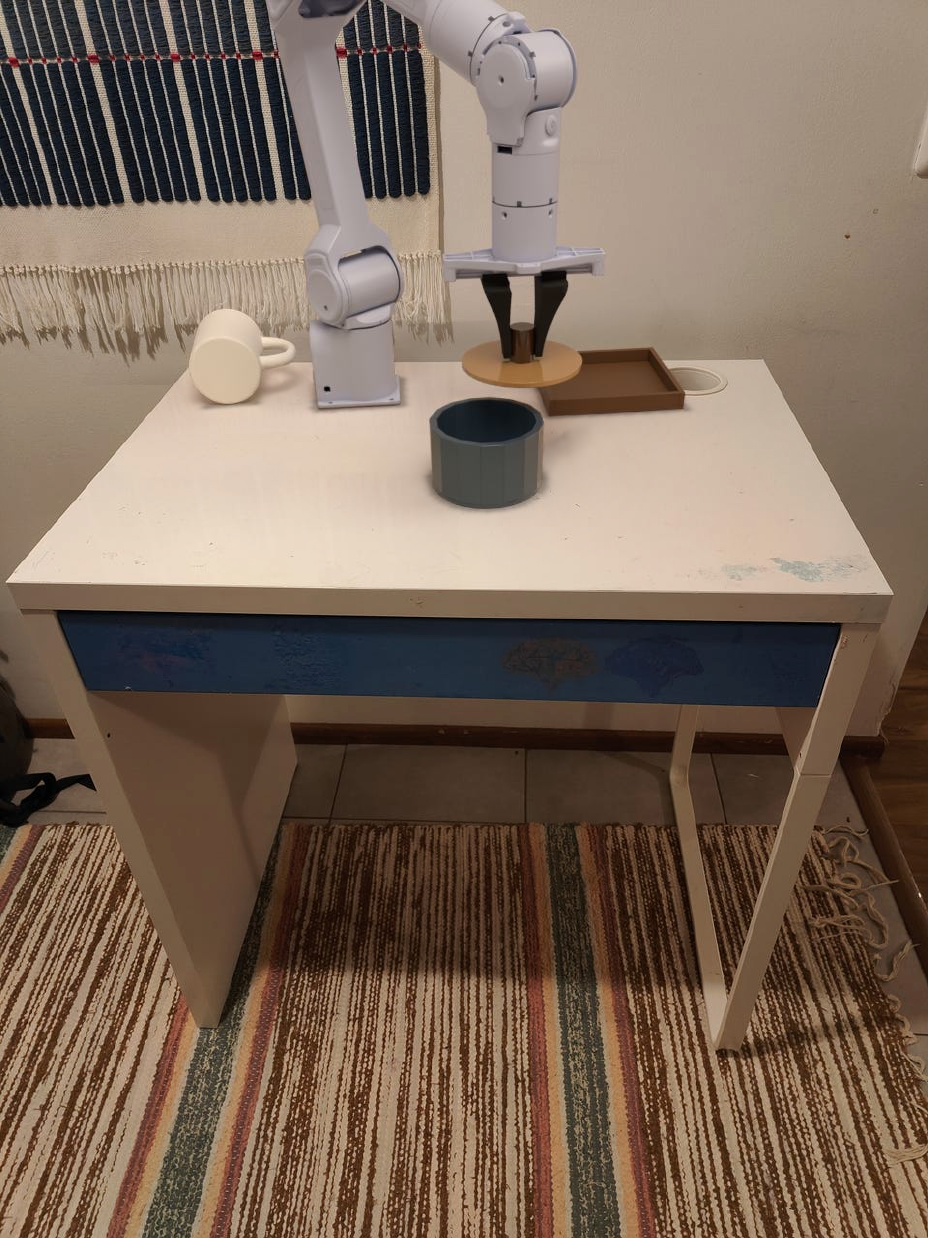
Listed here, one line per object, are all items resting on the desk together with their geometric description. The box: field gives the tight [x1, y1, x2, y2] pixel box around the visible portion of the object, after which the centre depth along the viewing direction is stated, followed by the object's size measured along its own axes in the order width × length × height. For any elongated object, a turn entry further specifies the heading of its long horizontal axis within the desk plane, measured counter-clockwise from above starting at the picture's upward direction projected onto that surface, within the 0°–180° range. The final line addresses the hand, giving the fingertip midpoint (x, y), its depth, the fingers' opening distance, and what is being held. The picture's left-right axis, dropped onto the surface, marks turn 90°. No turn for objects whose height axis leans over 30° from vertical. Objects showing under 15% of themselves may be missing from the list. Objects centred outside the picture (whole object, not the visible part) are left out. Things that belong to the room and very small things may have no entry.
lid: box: [461, 321, 582, 389], centre depth 82 cm, size 12×12×4 cm
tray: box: [537, 346, 686, 417], centre depth 101 cm, size 15×14×2 cm
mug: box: [188, 308, 297, 405], centre depth 102 cm, size 12×10×8 cm
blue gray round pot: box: [428, 396, 545, 509], centre depth 82 cm, size 11×11×6 cm
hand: (521, 354), depth 83 cm, fingers closed on lid, 2 cm apart
